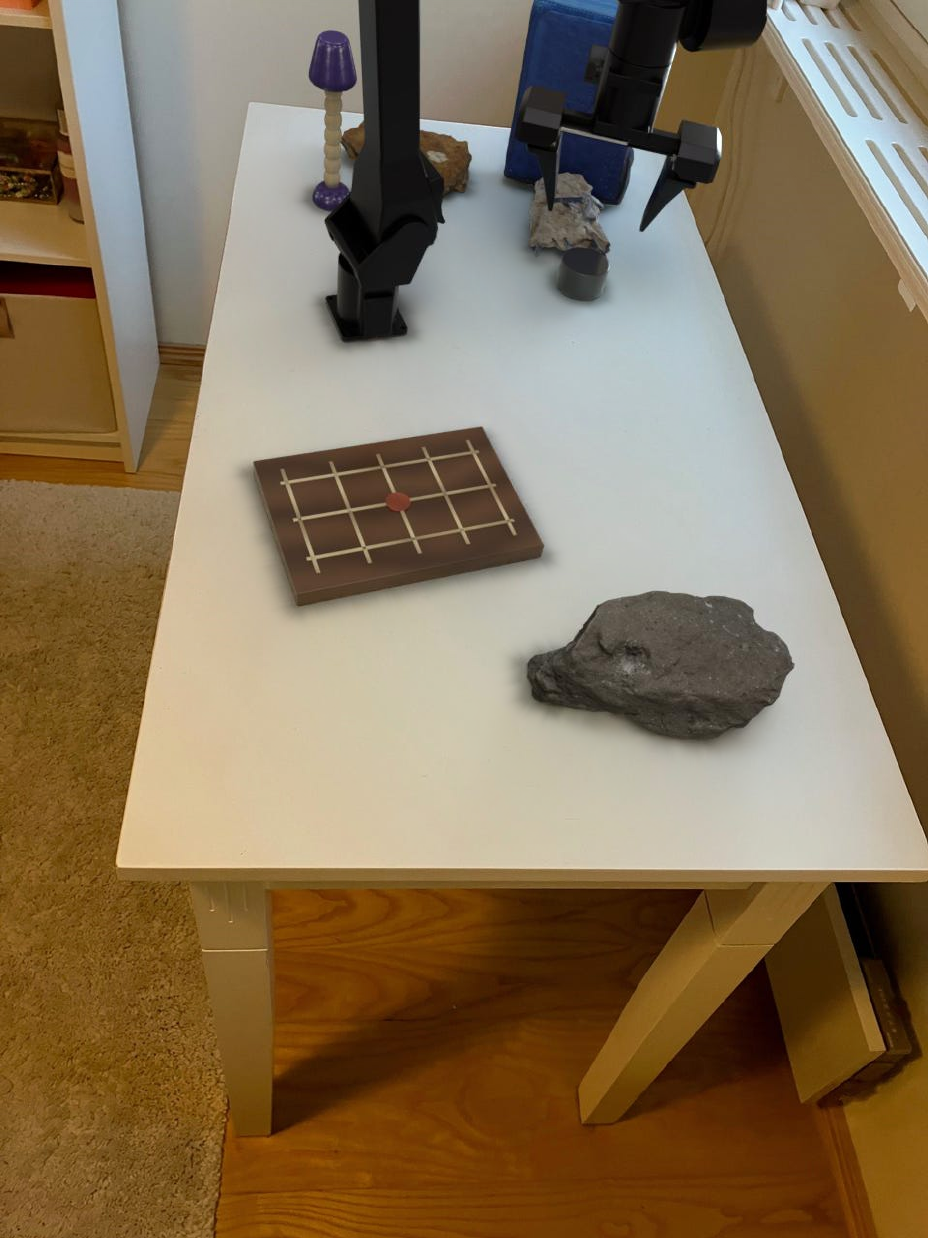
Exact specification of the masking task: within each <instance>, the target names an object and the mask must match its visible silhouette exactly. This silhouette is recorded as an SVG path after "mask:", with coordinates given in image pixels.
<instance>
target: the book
mask: <svg viewBox="0 0 928 1238" xmlns="http://www.w3.org/2000/svg"><path fill="white" fill-rule="evenodd" d="M618 4H619V1H618V0H533V2H532V6H531V7H530V14H529V18H528V26H527V32H526V38H525V42H524V43H525V44H524V49H523V56H522V62H521V69H520V74H519V81H518V86H517V92H516V93H517V94H516V98H515V103H514V104H515V105H514V111H513V117H512V121H511V124H510V125H511V126H510V131H509V137H508V141H507V142H508V144H507V147H506V153H505V163H504V167H503V168H504V170H503V176H504V178H506V179H508V180H511V181H514V182H517V183H519V184H522V185H530V186H532V187H534V188H535V183H536V182H537V181H539V180H540V179H541V178H543V176H542V172H541V169H540V166H539V163H538V160H537V156H536V155H535V154H533V153H530V152H528V151H527V150H526V147H527V143H523V142H519V141H518V140H517V139H515V138H514V134H515V128H516V123H517V118H518V113H519V109H520V105H521V102H522V99H523V95H524V92H525V90H527V89H528V88H529V87H530V86H532V85H534V86H538V87H542V88H547V89H551V90H556V91H560V92H564V93H567V97H566V101H565V106H564V108H567V109H572V110H576V111H580V112H585V113H589V114H592V111H593V102H594V97H595V93H596V89H597V85H594V84H589V83H585V82H584V81H583V79H584V74H585V70H586V65H587V61H588V57H589V52H590V48H591V44H596V45H600V46H604V47H608V45H609V41H610V37H611V33H612V29H613V24H614V20H615V16H616V12H617V8H618ZM634 161H635V148H631V147H627V146H622V145H618V144H613V143H609V142H605V141H600V140H596V139H591V138H587V137H583V136H578V135H574V134H569V133H565V132H563V134H562V142H561V151H560V161H559V172H558V174H563V173H567V172H568V173H570V174H578V175H581V176H583V178H584V180H585V181H586V182H587V184H589V185H591V186H592V188H593V189H592V190H591V195H592V196H593V197H595V198H596V199H598V200H599V201H600V202H601V204H602V205H606V206H619V205H620V204H621V203H622V201H623V199H624V197H625V194H626V192H627V190H628V188H629V184H630V180H631V171H632V167H633V164H634Z"/></svg>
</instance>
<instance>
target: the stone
mask: <svg viewBox="0 0 928 1238" xmlns="http://www.w3.org/2000/svg"><path fill="white" fill-rule="evenodd" d="M754 614H755V610H754V608H753V607H751V606H750V605H749V604H747V603H746V602H744V601H742V600H740V599H737V598H734V597H729V596H724V595H707V596H704V597H702V596H698V595H693V594H690V593H686V592H670V591H667V590H665V591H664V590H651V591H646V592H644V593H640V594H636V595H628V596H622V597H617V598H612V599H608V600H605V601H604V602H602V603H600V604H597V605H596V606H595V608H594V610H593V611H592V613H591V614H590V615H589V616H588V618H587V619H586V621H585V622H584V623H583V624H582V628H580V629H579V631H578V632H577V633H576V635H575V636H574V637H573V639H572V641H569V642H568V643H567V644H566V645H565V646H562V647H560V648H558V649H555V650H550V651H547V652H545V653H539V654H538V653H537V654H535V655H533V656H532V657H531V658H529V660H528V662H527V664H526V665H527V675H526V678H527V679H528V680H529V683H530V684H531V696H532V698H533V699H534V700H536V701H538V702H541V703H544V704H548V705H552V706H554V707H555V706H557V707H563V708H569V709H574V710H583V711H590V712H596V713H597V712H599V713H601V712H602V713H603V712H604V713H608V714H612V715H624V716H628V717H629V718H630V719H632V720H635V721H637V722H639V723H640V724H641V725H642V726H643V727H644V728H645V729H646V730H648V731H650V732H653V733H657V734H660V735H664V736H670V737H673V738H675V737H676V738H680V739H687V740H688V739H695V738H696V739H697V738H699V739H702V740H709V739H710V740H711V739H715V738H718V737H719V736H721V735H723V734H724V733H725V732H728V731H729V730H731V729H744V728H745V727H746V726H747V725H749V723H750V722H751V721H752V720H753V719H754V718H755V717H756V716H758V715H759V714H760V713H761V712H762V711H763V710H764V709H765V708H768V707H770V706H773V705H774V704H775V703H776V701H777V700H778V699H779V698H780V696H781V692H782V689H783V686H784V683H785V681H786V678H787V676H788V675H789V674H790V673H791V672H792V671H793V670H794V668H795V663H794V662H793V656H792V655H791V654H790V650H789V647H788V645H787V644H786V643H785V642H784V640H783V639H782V638H781V636H779V635H778V634H777V632H774V631H770V630H766V629H764V628H763V627H762V626H761V625H760V624H759V623H757V621H756V620H755V616H754Z"/></svg>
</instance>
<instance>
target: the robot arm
mask: <svg viewBox="0 0 928 1238" xmlns="http://www.w3.org/2000/svg"><path fill="white" fill-rule="evenodd" d="M617 1H618V2H619V4H618V8H617V12H616V16H615V20H614V24H613V29H612V33H611V37H610V41H609V45H608V47H604V46H600V45H596V44H591V48H590V52H589V57H588V61H587V65H586V70H585V74H584V79H583V81H584V82H585V83H589V84H594V85H597V89H596V93H595V97H594V102H593V111H592V114H589V113H585V112H580V111H576V110H572V109H567V108H564V106H565V101H566V97H567V93H564V92H560V91H556V90H551V89H547V88H542V87H538V86H534V85H532V86H530V87H529V88H528V89H527V90H525V92H524V95H523V99H522V102H521V105H520V109H519V113H518V118H517V123H516V128H515V134H514V138H515V139H517V140H518V141H519V142H523V143H527V147H526V150H527V151H528V152H530V153H533V154H535V155H536V156H537V160H538V163H539V166H540V169H541V172H542V176H543V180H544V186H545V193H546V199H547V206H548V211H551V212H552V210H553V206H554V201H555V197H556V192H557V182H558V172H559V161H560V151H561V142H562V134H563V132H565V133H569V134H574V135H578V136H583V137H587V138H591V139H596V140H600V141H605V142H609V143H613V144H618V145H622V146H627V147H631V148H633V149H634V150H635V149H637V150H640V151H644V152H648V153H653V154H657V155H658V154H659V155H662V156H665V159H664V161H663V165H662V167H661V171H660V174H659V176H658V178H657V180H656V183H655V185H654V187H653V189H652V192H651V194H650V196H649V198H648V201H647V203H646V205H645V208H644V211H643V214H642V217H641V220H640V223H639V228H638V232H639V233H643V232H645V231H646V230H647V228H648V227H649V226H650V225H651V224H652V223H653V222H654V220H655V219H656V218H657V216H658V215H659V214H660V213H661V212H662V210H663V209H664V208H665V207H666V206H667V205H669V203H671V201H673V200H674V199H675V198H676V197H678V195H679V194H681V192H683V191H685V189H688V190H695V189H696V188H697V186H698V184H699V183H701V184H705V185H708V184H712V183H714V180H715V178H716V174H717V172H718V169H719V167H720V163H721V158H722V133H721V131H720V129H719V127H718V126H713V125H709V124H705V123H700V122H696V121H692V120H687V119H684V118H683V119H681V121H680V123H679V126H678V129H677V133H676V132H673V131H667V130H664V129H659V128H655V127H654V126H655V122H656V119H657V115H658V113H659V109H660V105H661V102H662V99H663V96H664V92H665V89H666V85H667V83H668V78H669V74H670V71H671V68H672V65H673V62H674V58H675V54H676V51H677V48H678V44H679V43H680V45H681V47H682V48H683V49H684V50H685V51H687V52H690V53H698V52H699V53H701V52H713V51H714V52H715V51H728V50H729V51H730V50H743V49H748V48H750V47H752V46H753V45H754V44H756V43H757V42H758V41H759V39H760V37H761V36H762V34H763V32H764V30H765V28H766V25H767V22H768V16H767V12H768V0H617ZM357 2H358V20H359V21H358V24H359V45H360V46H359V47H360V67H361V69H360V70H361V87H362V88H361V89H362V108H363V109H362V111H363V120H364V134H365V137H364V144H363V146H362V149H361V151H360V153H359V155H358V157H357V159H356V161H354V164H353V169H352V178H351V184H350V186H351V187H350V193H349V194H348V195H347V196H346V197H345V198H344V199H343V200H342V201H341V202H340V203H339V204H338V205H337V207H336V208H335V209H334V210H333V211H330V213H329V214H328V215H327V216H326V217H325V218H324V220H323V221H324V225H325V228H326V231H327V235H328V236H329V238H330V239H331V241H332V242H333V244H334V245H335V246H336V248H337V249H338V251H339V254H338V257H337V281H336V283H337V285H336V294H329V295H326V296H325V298H324V299H325V301H324V302H325V305H326V307H327V309H328V311H329V314H330V316H331V318H332V320H333V323H334V325H335V328H336V330H337V332H338V334H339V336H340V338H341V340H342V341H344V342H352V341H360V340H369V339H378V338H387V337H394V336H403V335H404V336H405V335H407V333H408V331H409V330H408V329H409V328H408V326H407V323H406V321H405V320H404V317H403V316H402V312H400V309H399V308H398V302H399V301H398V300H399V290H400V289H399V288H400V287H401V286H408V285H410V284H411V283H412V282H413V279H414V277H415V275H416V273H417V271H418V270H419V267H420V265H421V262H422V260H423V259H424V256H425V254H426V252H427V251H428V250H427V249H428V248H430V247H431V246H433V245H434V244H435V242H436V239H437V236H438V232H439V231H438V230H439V224H441V225H444V224H445V223H446V220H445V217H444V215H443V208H442V206H443V199H444V195H445V194H444V178H443V177H442V175H441V174H440V173H439V172H438V170H437V169H436V168H435V166H434V165H433V164H432V162H431V161H430V160H429V159H428V157H427V156H426V155H425V153H424V152H423V151H422V149H421V148H420V130H421V0H357ZM443 194H444V195H443Z"/></svg>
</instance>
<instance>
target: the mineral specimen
mask: <svg viewBox="0 0 928 1238" xmlns="http://www.w3.org/2000/svg"><path fill="white" fill-rule="evenodd" d="M592 189H593V188H592V186H591V185H589V184H587V182H586V181H585V180H584V178H583V176H581V175H578V174H570V173H568V172H567V173H563V174H558V182H557V192H556V197H555V201H554V206H553V210H552V212H551V211H548V206H547V199H546V193H545V186H544V180H543V178H541V179H540V180H539V181H537V182H536V183H535V187H534V191H535V195H534V197H533V201H531V204H530V206H531V207H529V211H530V214H529V219H530V225H529V246H530V247H531V248H533V247H534V246H535V250H534V255H535V256H536V257H537V256H539V254H540V252H541V250H543V248H547V249H549V248H556V249H558V250H559V251H560V250H562V251H564V252H565V251H566V250H568V249H571V248H575V247H583V248H589V249H592V250H595V251H597V252H599V253H601V254H602V255H603V256H605V257H606V258H607V260H608V262H609V263H610V261H609V259H608V257H607V254H608V253H609V252H610V251H611V248H610V247H611V246H612V245H611V242H610V241H609V239H608V237H607V235H606V233H605V232H604V230H603V228H602V226H601V224H600V223H599V217H598V216H599V215H600V214H601V210H604V208H605V206H604V204H602V203H601V202H600V201H599V200H598V199H596V198H595V197H593V196H592V195H591V190H592Z"/></svg>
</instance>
